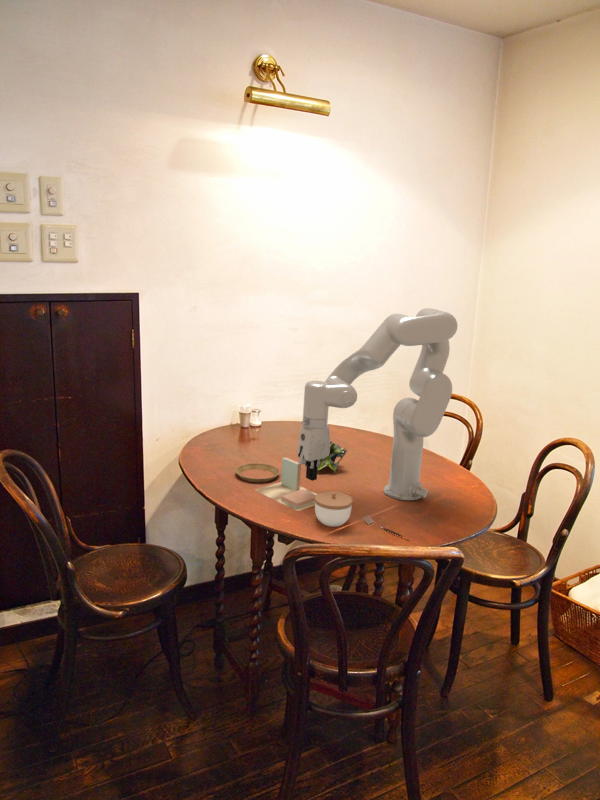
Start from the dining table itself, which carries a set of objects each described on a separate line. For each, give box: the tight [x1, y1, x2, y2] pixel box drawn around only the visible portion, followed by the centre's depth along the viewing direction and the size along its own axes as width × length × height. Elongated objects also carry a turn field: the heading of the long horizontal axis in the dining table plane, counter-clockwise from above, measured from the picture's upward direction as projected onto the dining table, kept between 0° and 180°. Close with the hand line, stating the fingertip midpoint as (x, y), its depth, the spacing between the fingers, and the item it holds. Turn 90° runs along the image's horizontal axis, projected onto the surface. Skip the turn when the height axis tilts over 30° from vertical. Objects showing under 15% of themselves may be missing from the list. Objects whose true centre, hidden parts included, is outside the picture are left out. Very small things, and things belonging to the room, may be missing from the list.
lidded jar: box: [314, 490, 354, 528], centre depth 176 cm, size 11×11×9 cm
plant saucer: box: [235, 462, 281, 483], centre depth 209 cm, size 15×15×3 cm
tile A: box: [281, 489, 316, 508], centre depth 190 cm, size 7×2×9 cm
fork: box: [362, 514, 403, 538], centre depth 175 cm, size 3×16×2 cm, turn 44°
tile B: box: [280, 456, 302, 491], centre depth 200 cm, size 7×2×9 cm, turn 44°
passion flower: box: [317, 440, 348, 474], centre depth 217 cm, size 13×12×14 cm
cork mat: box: [254, 481, 318, 512], centre depth 195 cm, size 20×14×1 cm
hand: (311, 478), depth 192 cm, fingers closed
